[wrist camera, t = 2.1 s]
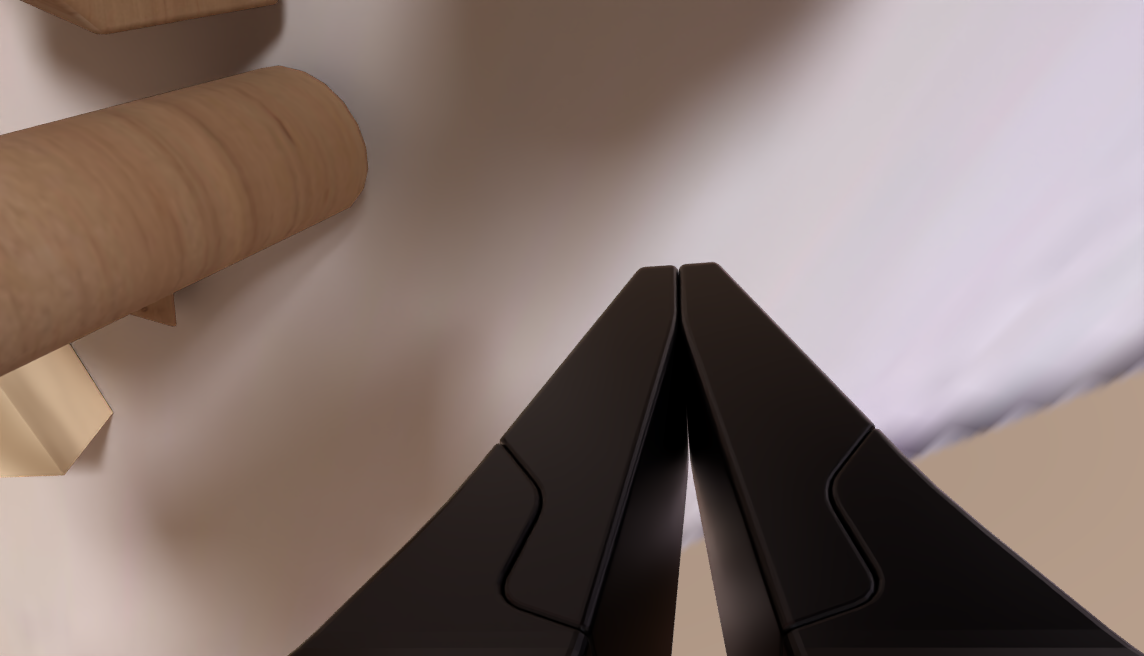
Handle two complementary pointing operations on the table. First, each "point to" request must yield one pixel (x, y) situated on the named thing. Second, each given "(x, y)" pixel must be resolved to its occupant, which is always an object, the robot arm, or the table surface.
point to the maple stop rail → (48, 415)
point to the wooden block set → (160, 187)
